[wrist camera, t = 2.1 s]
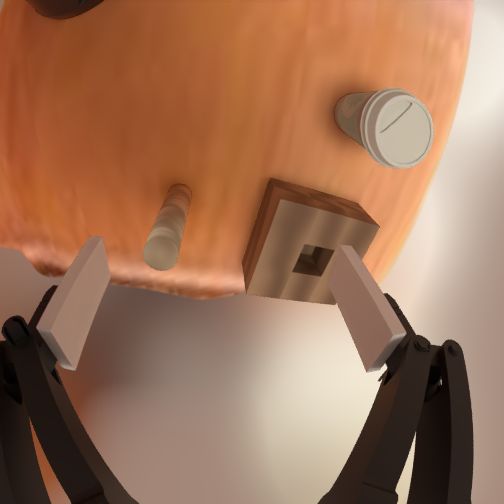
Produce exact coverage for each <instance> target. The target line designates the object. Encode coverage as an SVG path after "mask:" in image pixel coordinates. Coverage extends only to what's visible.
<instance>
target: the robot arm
mask: <svg viewBox="0 0 504 504" xmlns="http://www.w3.org/2000/svg"><path fill="white" fill-rule="evenodd" d="M27 1H28V3H29V4H30V5H31V6H32V7H33V8H34V9H35V10H36V12H37V13H39V14H40V15H42V16H45V17H49V18H53V19H66V18H70V17H74V16H76V15H79V14H81V13H83V12H85V11H87V10H89V9H91V8H93V7H94V6H96V5H97V4H99V3H100V2H102V1H103V0H27ZM110 278H111V273H110V269H109V265H108V261H107V256H106V252H105V247H104V242H103V237H102V236H90V238H89V239H88V240H87V242H86V243H85V245H84V246H83V248H82V249H81V251H80V252H79V254H78V255H77V257H76V258H75V260H74V261H73V263H72V264H71V266H70V268H69V269H68V271H67V272H66V274H65V276H64V277H63V279H62V281H61V282H60V284H59V286H56V285H53V286H52V287H51V288H50V289H49V290H48V291H47V292H46V293H45V295H44V297H43V299H42V301H41V302H40V304H39V305H38V307H37V309H36V311H35V313H34V315H33V316H32V318H31V320H30V322H29V324H28V325H27V323H26V322H25V320H24V318H23V317H21V316H13V317H10V318H9V319H8V320H7V321H6V322H5V323H4V325H3V327H2V334H3V336H4V338H5V339H6V340H5V341H0V504H51V501H50V499H49V496H48V493H47V490H46V487H45V484H44V481H43V478H42V474H41V471H40V467H39V464H38V460H37V456H36V451H35V447H34V442H33V437H32V432H31V426H30V420H31V422H32V425H33V428H34V430H35V432H36V435H37V438H38V440H39V442H40V444H41V447H42V449H43V451H44V453H45V455H46V458H47V460H48V461H49V464H50V466H51V468H52V469H53V471H54V473H55V475H56V477H57V479H58V481H59V482H60V484H61V486H62V487H63V489H64V491H65V492H66V494H67V496H68V497H69V499H70V501H71V504H139V503H138V502H137V501H136V500H134V499H133V498H132V497H131V496H130V495H129V494H128V493H127V492H126V490H125V489H124V488H123V486H122V485H121V484H120V483H119V481H118V480H117V478H116V477H115V476H114V474H113V473H112V472H111V470H110V469H109V467H108V466H107V464H106V463H105V462H104V460H103V459H102V457H101V455H100V454H99V452H98V451H97V449H96V447H95V446H94V444H93V442H92V441H91V439H90V437H89V435H88V434H87V432H86V430H85V428H84V427H83V425H82V423H81V421H80V419H79V417H78V415H77V413H76V411H75V410H74V407H73V405H72V403H71V401H70V399H69V397H68V395H67V393H66V390H65V388H64V386H63V383H62V381H61V378H60V376H59V373H58V371H57V369H56V368H55V364H56V361H58V362H59V364H60V365H61V367H63V368H67V369H71V370H76V367H77V364H78V361H79V358H80V355H81V352H82V349H83V346H84V343H85V340H86V337H87V335H88V332H89V329H90V327H91V324H92V321H93V319H94V316H95V313H96V311H97V309H98V306H99V303H100V301H101V299H102V296H103V294H104V291H105V289H106V287H107V285H108V283H109V280H110ZM327 283H328V285H329V287H330V289H331V292H332V294H333V296H334V298H335V300H336V302H337V304H338V307H339V309H340V311H341V313H342V316H343V318H344V320H345V322H346V325H347V327H348V329H349V332H350V334H351V336H352V338H353V341H354V343H355V345H356V348H357V350H358V353H359V355H360V357H361V360H362V362H363V365H364V367H365V370H366V372H372V371H377V370H380V369H381V367H382V366H383V365H384V364H385V363H386V365H387V370H386V371H385V372H384V373H383V374H382V376H381V377H380V378H379V380H378V381H381V379H382V378H383V379H382V382H381V385H380V387H379V390H378V393H377V395H376V398H375V401H374V403H373V406H372V408H371V411H370V413H369V416H368V418H367V420H366V423H365V425H364V427H363V429H362V431H361V434H360V436H359V438H358V440H357V442H356V444H355V446H354V448H353V451H352V452H351V454H350V456H349V458H348V460H347V462H346V464H345V466H344V467H343V469H342V471H341V473H340V475H339V476H338V478H337V480H336V481H335V483H334V485H333V486H332V488H331V490H330V491H329V492H328V493H327V494H325V495H324V496H323V498H321V500H320V501H319V502H318V504H397V502H398V494H397V493H396V492H395V489H396V486H397V483H398V481H399V479H400V476H401V473H402V471H403V468H404V466H405V463H406V460H407V457H408V455H409V451H410V449H411V445H412V442H413V439H414V436H415V432H416V441H415V453H414V462H413V470H412V477H411V483H410V489H409V494H408V500H407V504H471V489H472V478H473V423H472V409H471V399H470V391H469V384H468V377H467V372H466V366H465V360H464V355H463V351H462V348H461V347H460V345H459V344H458V343H457V342H455V341H453V340H446V341H445V342H444V343H443V345H442V346H436V345H431V344H430V342H429V341H428V340H427V339H426V338H425V337H423V336H421V335H416V334H415V332H414V331H413V329H412V327H411V325H410V324H409V322H408V320H407V319H406V317H405V316H404V315H403V312H402V311H401V309H399V306H398V304H397V303H396V301H395V300H394V299H393V298H392V297H391V296H390V295H389V294H388V293H385V294H383V293H382V291H381V289H380V288H379V286H378V285H377V283H376V282H375V280H374V278H373V277H372V275H371V274H370V272H369V271H368V269H367V268H366V266H365V265H364V263H363V262H362V260H361V259H360V257H359V256H358V255H357V253H356V252H355V250H354V249H353V247H352V246H348V245H340V246H339V249H338V252H337V256H336V259H335V262H334V265H333V268H332V271H331V274H330V276H329V279H328V282H327ZM441 379H442V385H441V382H440V380H441ZM29 417H30V420H29Z"/></svg>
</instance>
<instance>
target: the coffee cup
mask: <svg viewBox="0 0 504 504" xmlns="http://www.w3.org/2000/svg"><path fill="white" fill-rule="evenodd" d="M334 114H335V120H336V123H337V125H338V126H339V128H340V129H341V130H342V131H344V132H345V133H346V134H347V135H349V136H350V137H351V138H352V139H354V140H355V141H356V142H357V143H359V144H360V145H361V146H362V147H364V148H365V149H366V150H367V152H368V153H369V155H370V156H371V157H372V158H373V159H374V160H375V161H376V162H378V163H379V164H381V165H383V166H386V167H390V168H410V167H413V166H415V165H417V164H418V163H420V162H421V161H422V160H423V159H424V158H425V157H426V155H427V154H428V152H429V150H430V148H431V145H432V142H433V136H434V127H433V121H432V118H431V115H430V113H429V111H428V109H427V108H426V106H425V105H424V104H423V103H422V102H421V101H420V100H418V99H417V98H416V97H415V96H414V95H412V94H411V93H409V92H407V91H405V90H402V89H399V88H386V89H383V90H381V91H375V92H364V93H354V94H348V95H345V96H343V97H342V98H341V99H340V100H339V101H338V103H337V104H336V107H335V112H334Z"/></svg>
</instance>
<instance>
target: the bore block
mask: <svg viewBox="0 0 504 504" xmlns="http://www.w3.org/2000/svg"><path fill="white" fill-rule="evenodd" d="M379 227H380V226H379V225H378V224H377V223H376V222H375V221H374V220H373V219H372V218H371V217H370V216H369V215H368V214H367V212H366V211H365V210H364V209H363V208H362V207H361V206H360V205H359V204H358V203H355V202H352V201H348V200H345V199H342V198H339V197H336V196H333V195H329V194H326V193H323V192H319V191H316V190H312V189H309V188H305V187H302V186H298V185H295V184H291V183H287V182H284V181H280V180H276V179H272V178H270V180H269V183H268V186H267V189H266V192H265V195H264V198H263V201H262V204H261V207H260V210H259V213H258V216H257V219H256V222H255V225H254V229H253V232H252V235H251V238H250V241H249V244H248V247H247V250H246V253H245V256H244V259H243V262H242V265H243V273H244V281H245V289H246V294H248V295H256V296H263V297H271V298H278V299H286V300H294V301H303V302H311V303H320V304H331V305H335V304H336V303H337V302H336V300H335V298H334V296H333V294H332V292H331V289H330V287H329V285H328V283H327V282H328V279H329V276H330V274H331V271H332V268H333V265H334V262H335V259H336V256H337V252H338V249H339V246H340V245H348V246H352V247H353V249H354V250H355V252H356V253H357V255H358V256H359V257H360V259H361V260H362V259H363V257H364V255H365V254H366V252H367V250H368V248H369V246H370V244H371V243H372V241H373V239H374V237H375V235H376V233H377V231H378V229H379Z"/></svg>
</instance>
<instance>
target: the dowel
mask: <svg viewBox="0 0 504 504" xmlns="http://www.w3.org/2000/svg"><path fill="white" fill-rule="evenodd" d="M191 197H192V194H191V190H190V189H189V188H188V187H187V186H186V185H183V184H176V185H174V186H172V187H171V188H170V190H169V192H168V194H167V196H166V198H165V200H164V202H163V205H162V207H161V209H160V211H159V214H158V216H157V218H156V221H155V223H154V225H153V228H152V230H151V233H150V235H149V237H148V240H147V242H146V245H145V247H144V250H143V258H144V260H145V262H146V263H147V265H149V266H150V267H151V268H153V269H155V270H160V271H165V270H169V269H171V268H173V267H174V266H175V264H176V263H177V259H178V254H179V249H180V245H181V240H182V235H183V231H184V227H185V222H186V218H187V214H188V209H189V205H190V201H191Z"/></svg>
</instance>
